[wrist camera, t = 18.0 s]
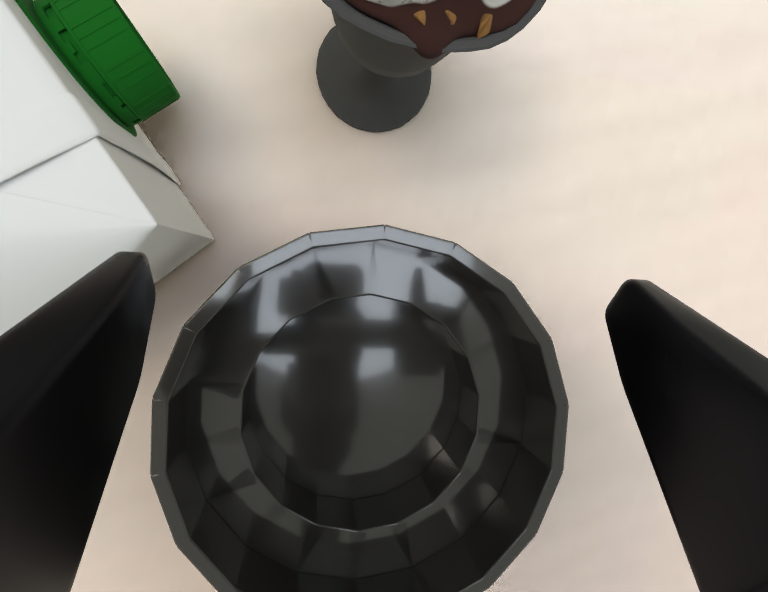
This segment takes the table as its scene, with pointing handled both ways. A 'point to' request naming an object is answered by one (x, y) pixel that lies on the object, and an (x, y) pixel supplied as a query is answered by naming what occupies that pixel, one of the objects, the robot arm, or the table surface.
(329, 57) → the sundae
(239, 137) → the table surface
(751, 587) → the robot arm
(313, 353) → the bowl
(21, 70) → the milk carton
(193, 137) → the table surface
